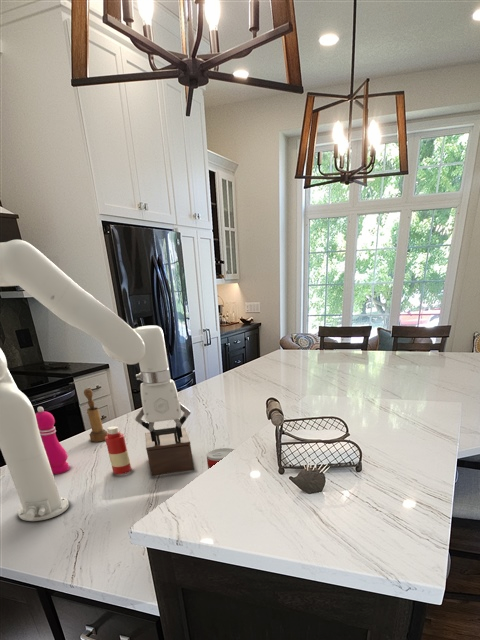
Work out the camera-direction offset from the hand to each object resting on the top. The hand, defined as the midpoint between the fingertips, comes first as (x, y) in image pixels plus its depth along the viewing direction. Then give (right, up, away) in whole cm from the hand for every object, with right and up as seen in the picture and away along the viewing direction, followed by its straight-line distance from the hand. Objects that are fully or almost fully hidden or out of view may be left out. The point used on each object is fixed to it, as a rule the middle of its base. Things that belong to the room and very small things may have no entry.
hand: (167, 441), depth 137 cm
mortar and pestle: (-33, +10, +39) cm, 51 cm away
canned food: (+18, -16, -9) cm, 26 cm away
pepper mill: (-37, -6, +14) cm, 40 cm away
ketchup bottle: (-15, -8, +8) cm, 19 cm away
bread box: (-1, -5, +10) cm, 11 cm away
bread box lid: (-1, +2, +5) cm, 6 cm away
